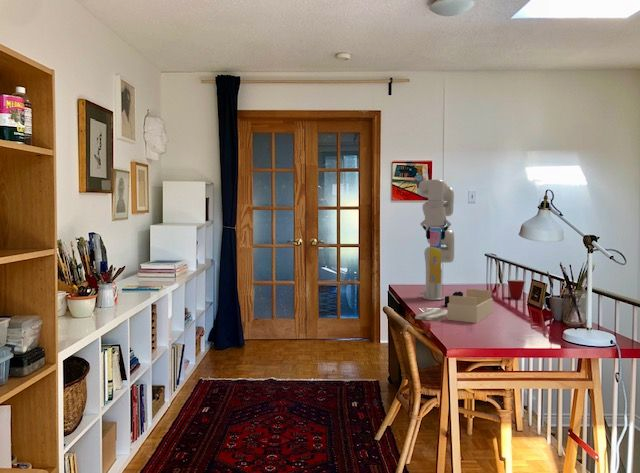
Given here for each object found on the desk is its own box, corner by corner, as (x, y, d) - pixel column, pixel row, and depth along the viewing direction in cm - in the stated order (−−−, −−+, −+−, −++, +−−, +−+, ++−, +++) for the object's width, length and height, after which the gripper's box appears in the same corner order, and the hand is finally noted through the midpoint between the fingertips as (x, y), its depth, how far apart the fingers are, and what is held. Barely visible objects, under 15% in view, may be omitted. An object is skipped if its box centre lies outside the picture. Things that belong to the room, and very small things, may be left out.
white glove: (415, 318, 257) (415, 315, 257) (432, 311, 277) (432, 308, 277) (436, 321, 251) (436, 318, 251) (452, 313, 271) (452, 310, 271)
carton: (447, 319, 255) (447, 295, 254) (465, 310, 279) (465, 288, 278) (477, 322, 247) (477, 298, 246) (492, 313, 271) (492, 290, 270)
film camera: (446, 304, 298) (446, 289, 298) (464, 305, 295) (464, 289, 295) (443, 309, 284) (443, 292, 284) (461, 310, 281) (461, 293, 280)
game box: (440, 283, 253) (441, 228, 251) (429, 283, 254) (429, 228, 252) (440, 278, 273) (440, 226, 271) (429, 277, 274) (430, 226, 273)
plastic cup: (523, 297, 322) (523, 278, 321) (526, 300, 311) (527, 280, 311) (505, 297, 324) (505, 278, 324) (508, 299, 313) (508, 280, 313)
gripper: (416, 204, 263) (416, 239, 264) (450, 203, 254) (449, 240, 254) (422, 204, 269) (422, 238, 270) (454, 204, 260) (454, 239, 261)
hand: (435, 238), depth 262 cm, fingers closed on game box, 6 cm apart
